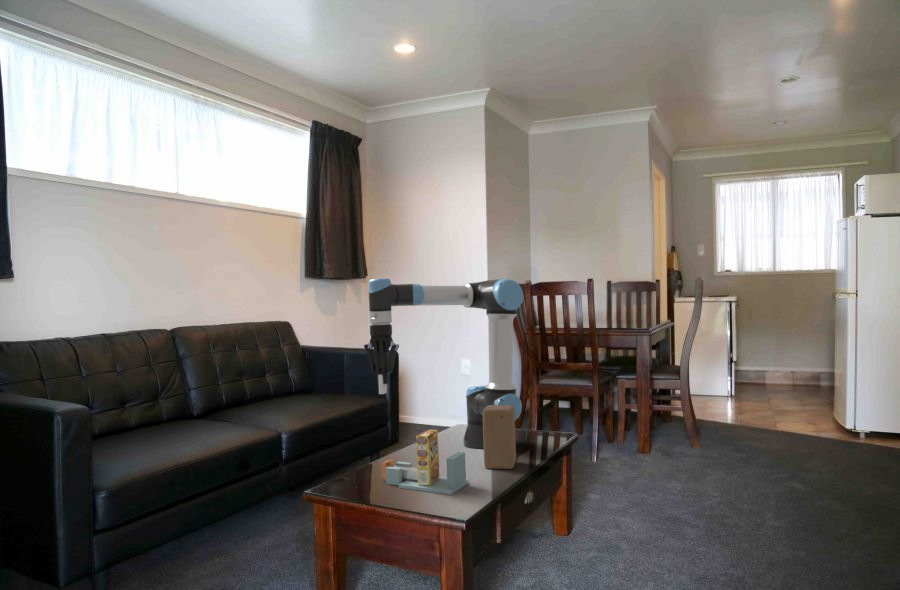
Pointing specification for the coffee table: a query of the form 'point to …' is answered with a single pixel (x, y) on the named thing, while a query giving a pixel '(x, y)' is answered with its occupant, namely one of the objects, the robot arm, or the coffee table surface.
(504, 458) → the wooden block
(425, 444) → the candy box
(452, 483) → the press
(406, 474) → the ram
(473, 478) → the coffee table surface
